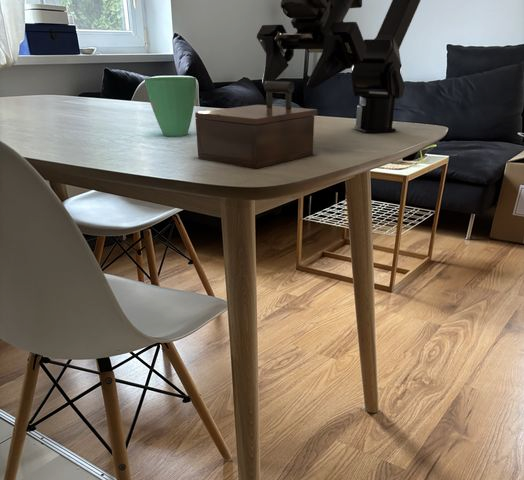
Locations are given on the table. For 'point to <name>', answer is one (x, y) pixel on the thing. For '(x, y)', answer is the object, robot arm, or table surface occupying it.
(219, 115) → the lid
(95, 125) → the table surface
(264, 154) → the keepsake box
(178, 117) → the mug
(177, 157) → the table surface
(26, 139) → the table surface
